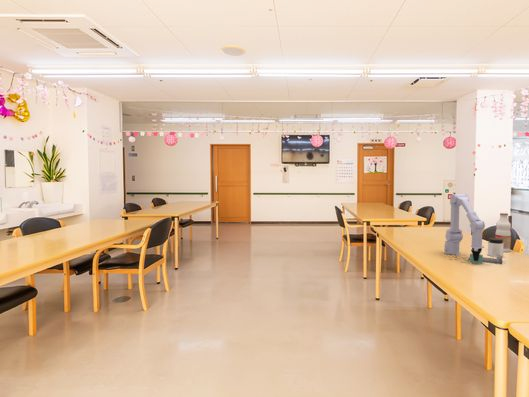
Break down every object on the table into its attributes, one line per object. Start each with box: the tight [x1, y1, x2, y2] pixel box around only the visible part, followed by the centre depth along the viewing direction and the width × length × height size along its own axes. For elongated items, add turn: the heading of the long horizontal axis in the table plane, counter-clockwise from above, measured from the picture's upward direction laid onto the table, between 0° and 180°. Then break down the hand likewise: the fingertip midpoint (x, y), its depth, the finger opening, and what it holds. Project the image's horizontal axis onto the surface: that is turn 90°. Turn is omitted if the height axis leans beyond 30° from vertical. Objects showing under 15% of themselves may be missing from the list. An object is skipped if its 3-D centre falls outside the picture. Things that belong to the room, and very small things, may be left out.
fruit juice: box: [494, 212, 512, 253], centre depth 255 cm, size 9×9×28 cm
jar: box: [487, 237, 504, 258], centre depth 240 cm, size 9×8×12 cm
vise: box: [469, 254, 503, 265], centre depth 228 cm, size 18×10×4 cm, turn 55°
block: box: [469, 253, 484, 265], centre depth 224 cm, size 7×4×5 cm, turn 55°
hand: (476, 259), depth 224 cm, fingers open, 5 cm apart
